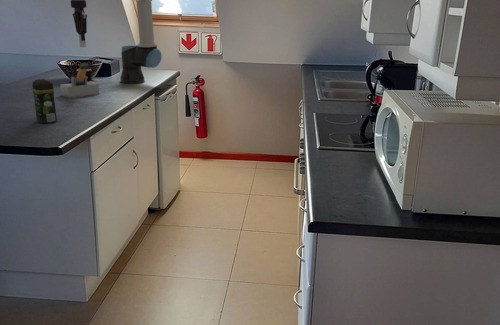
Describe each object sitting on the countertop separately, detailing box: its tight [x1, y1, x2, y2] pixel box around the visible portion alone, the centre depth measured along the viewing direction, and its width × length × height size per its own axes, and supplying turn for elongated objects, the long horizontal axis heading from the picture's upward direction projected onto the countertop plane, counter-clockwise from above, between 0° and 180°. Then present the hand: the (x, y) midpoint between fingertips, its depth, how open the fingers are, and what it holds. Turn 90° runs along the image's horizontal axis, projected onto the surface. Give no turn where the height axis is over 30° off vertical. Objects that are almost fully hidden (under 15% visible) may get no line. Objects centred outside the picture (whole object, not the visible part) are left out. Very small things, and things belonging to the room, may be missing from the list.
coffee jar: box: [32, 78, 58, 124], centre depth 217 cm, size 10×8×19 cm
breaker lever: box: [75, 62, 90, 84], centre depth 268 cm, size 2×4×14 cm
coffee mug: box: [69, 68, 93, 81], centre depth 295 cm, size 12×9×10 cm
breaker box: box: [59, 76, 100, 99], centre depth 273 cm, size 9×18×10 cm, turn 135°
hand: (83, 46), depth 258 cm, fingers closed
